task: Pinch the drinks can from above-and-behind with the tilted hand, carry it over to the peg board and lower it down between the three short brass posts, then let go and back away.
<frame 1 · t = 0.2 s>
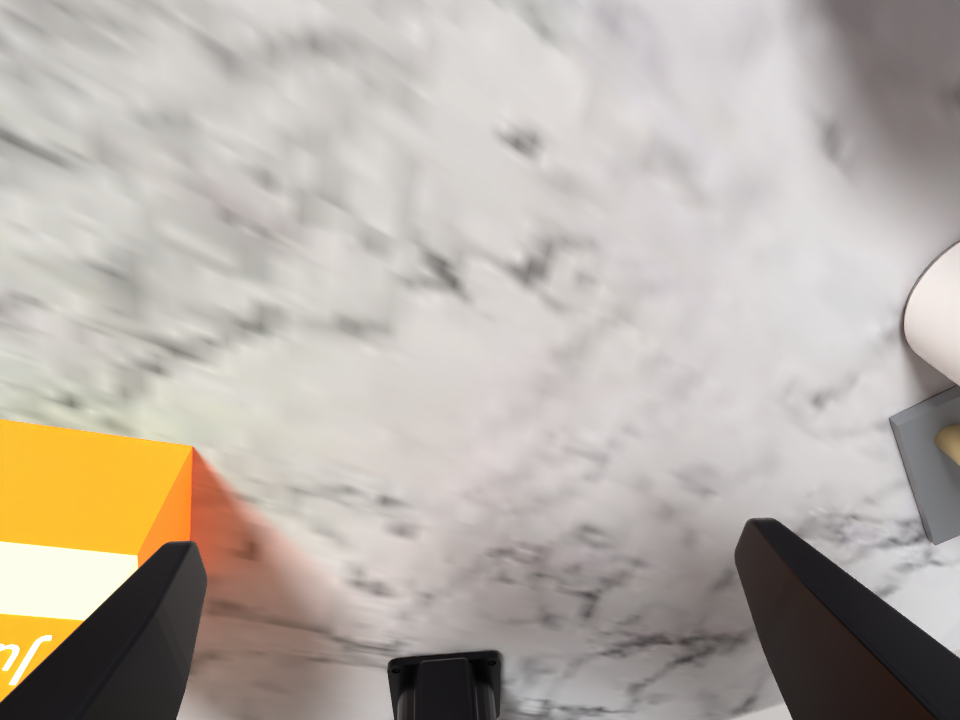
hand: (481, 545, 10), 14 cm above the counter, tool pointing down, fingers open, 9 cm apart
orange juice: (104, 504, 28), on the counter
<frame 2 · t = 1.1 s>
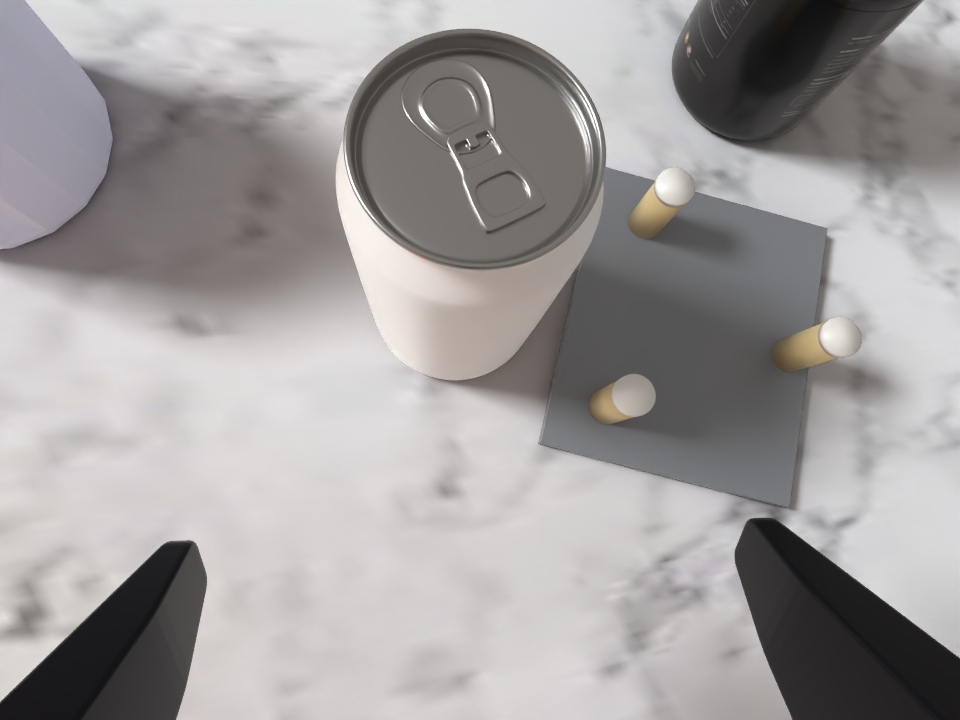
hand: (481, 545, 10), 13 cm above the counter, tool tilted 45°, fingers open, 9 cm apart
soap bottle: (2, 151, 24), on the counter
peg board: (674, 329, 25), on the counter
supplement bottle: (735, 82, 28), on the counter
can: (453, 305, 25), on the counter
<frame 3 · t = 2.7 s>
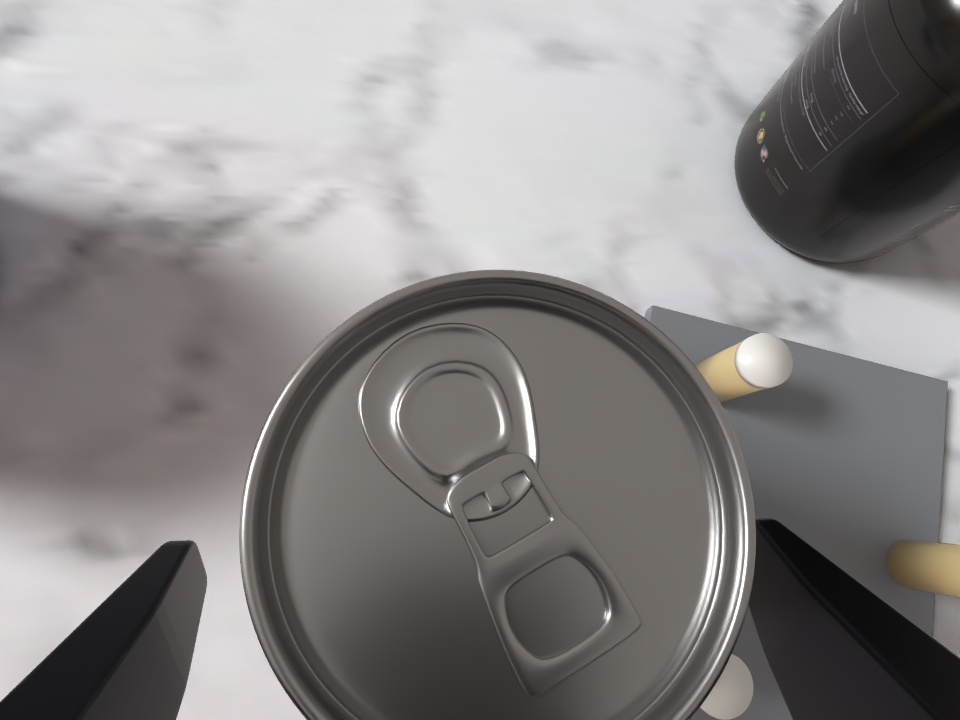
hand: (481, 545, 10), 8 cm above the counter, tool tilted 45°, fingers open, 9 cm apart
peg board: (752, 526, 19), on the counter
supplement bottle: (814, 181, 22), on the counter
can: (456, 500, 18), on the counter
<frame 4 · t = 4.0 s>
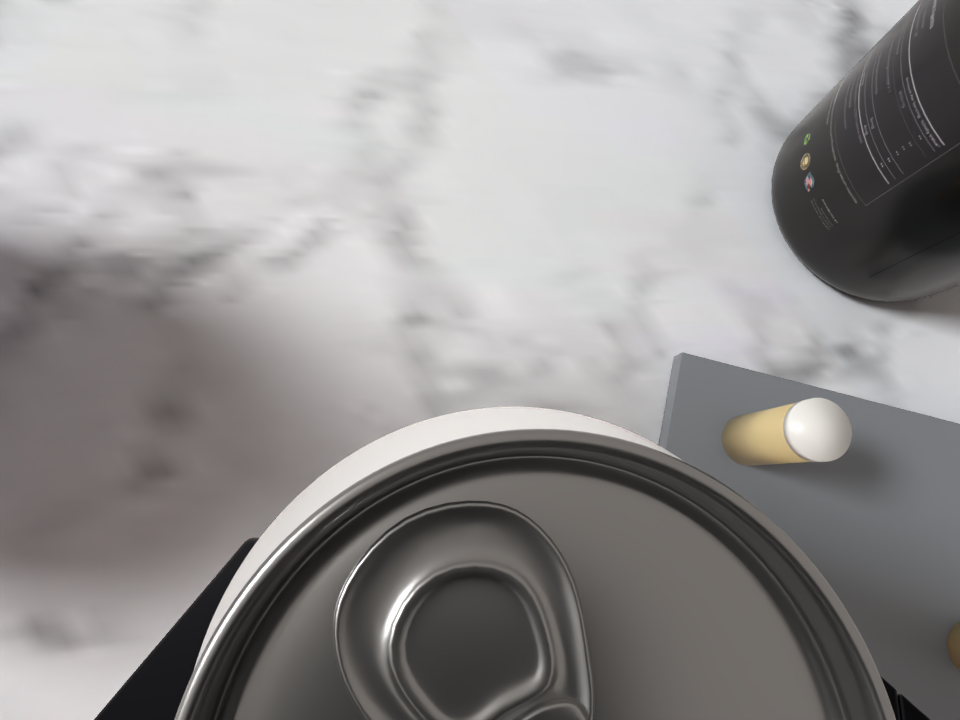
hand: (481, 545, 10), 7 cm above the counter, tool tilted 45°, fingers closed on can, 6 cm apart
peg board: (795, 603, 17), on the counter
supplement bottle: (858, 208, 20), on the counter
can: (461, 575, 16), on the counter, touching gripper
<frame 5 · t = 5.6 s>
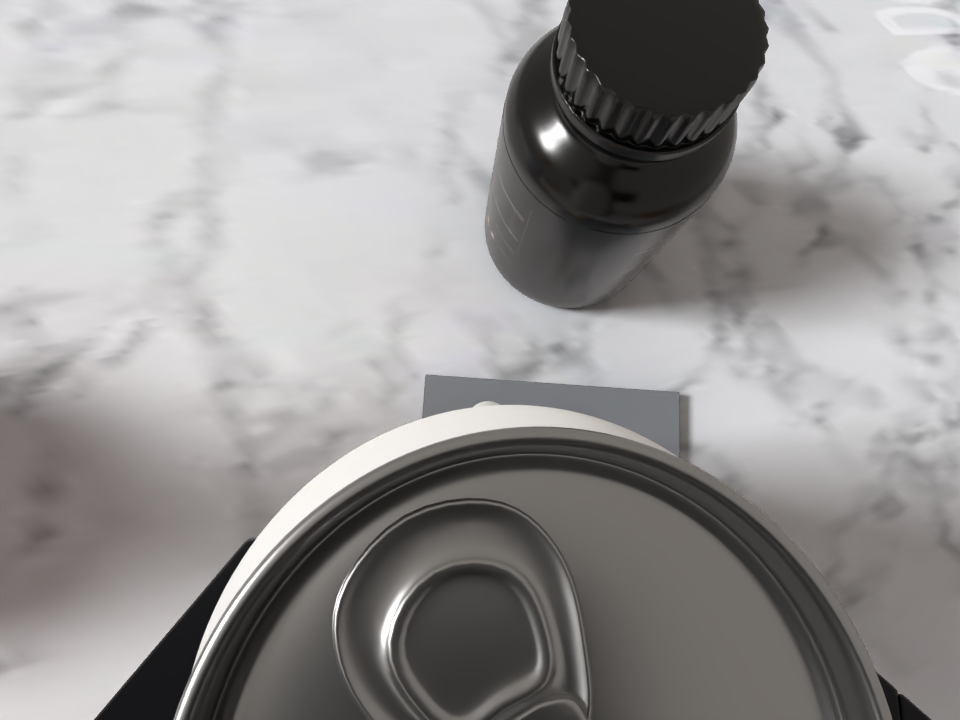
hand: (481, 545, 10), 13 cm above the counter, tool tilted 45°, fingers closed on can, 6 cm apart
peg board: (532, 541, 23), on the counter
supplement bottle: (560, 235, 26), on the counter
can: (458, 574, 16), point 6 cm above the counter, touching gripper
when the fingers open (8 cm above the counter, at t = 7.4 s): can drops 1 cm, resting on peg board.
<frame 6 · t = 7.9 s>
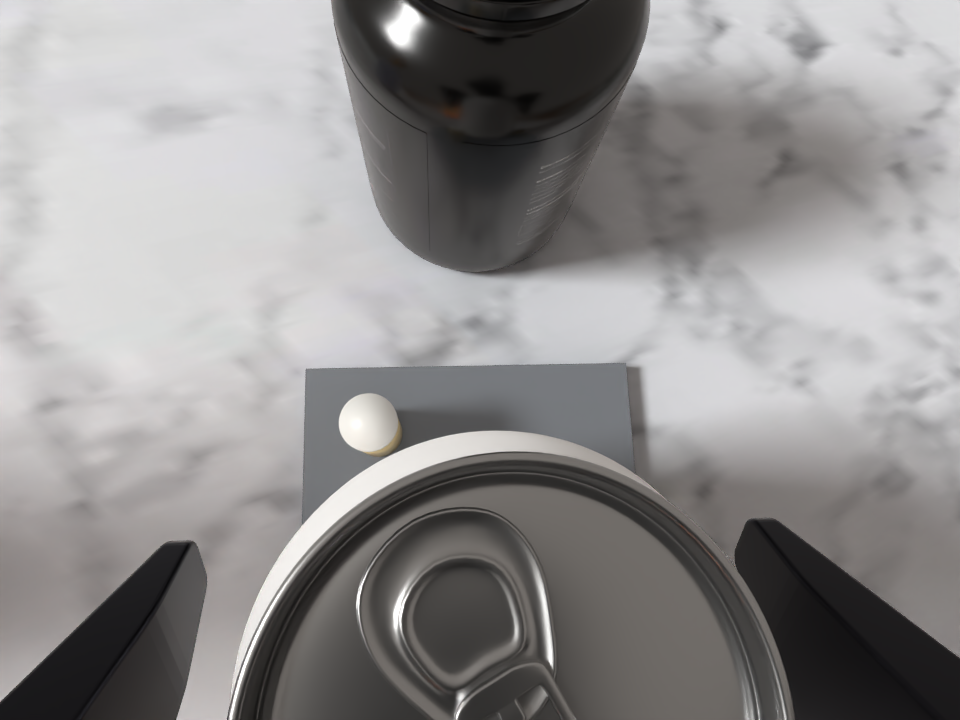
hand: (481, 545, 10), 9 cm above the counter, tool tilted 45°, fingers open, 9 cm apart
peg board: (457, 565, 18), on the counter
supplement bottle: (469, 186, 21), on the counter
can: (455, 578, 18), resting on peg board
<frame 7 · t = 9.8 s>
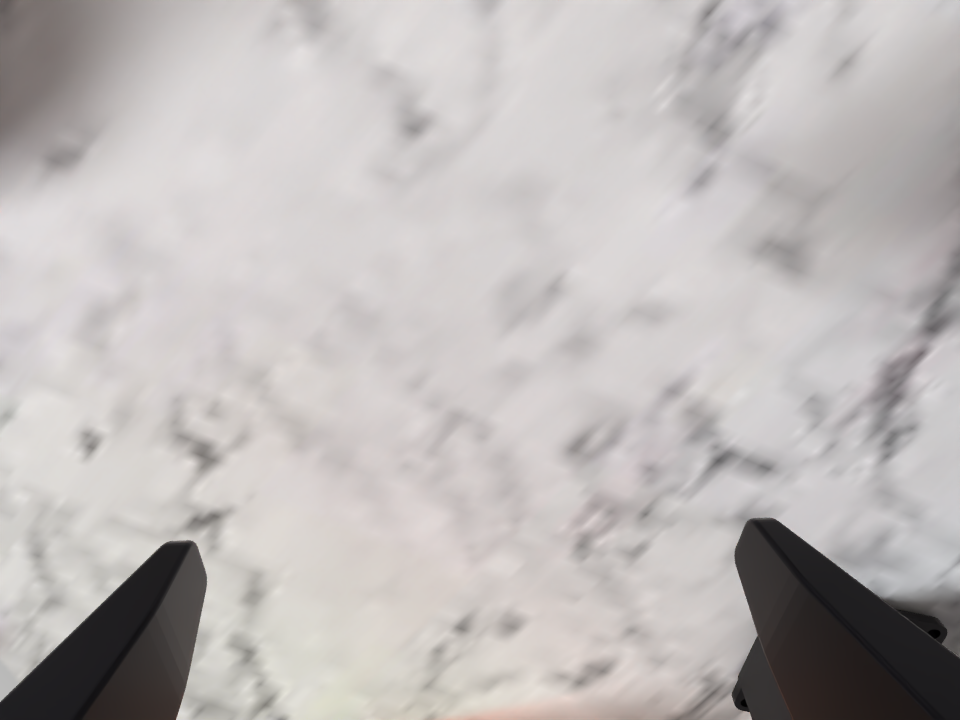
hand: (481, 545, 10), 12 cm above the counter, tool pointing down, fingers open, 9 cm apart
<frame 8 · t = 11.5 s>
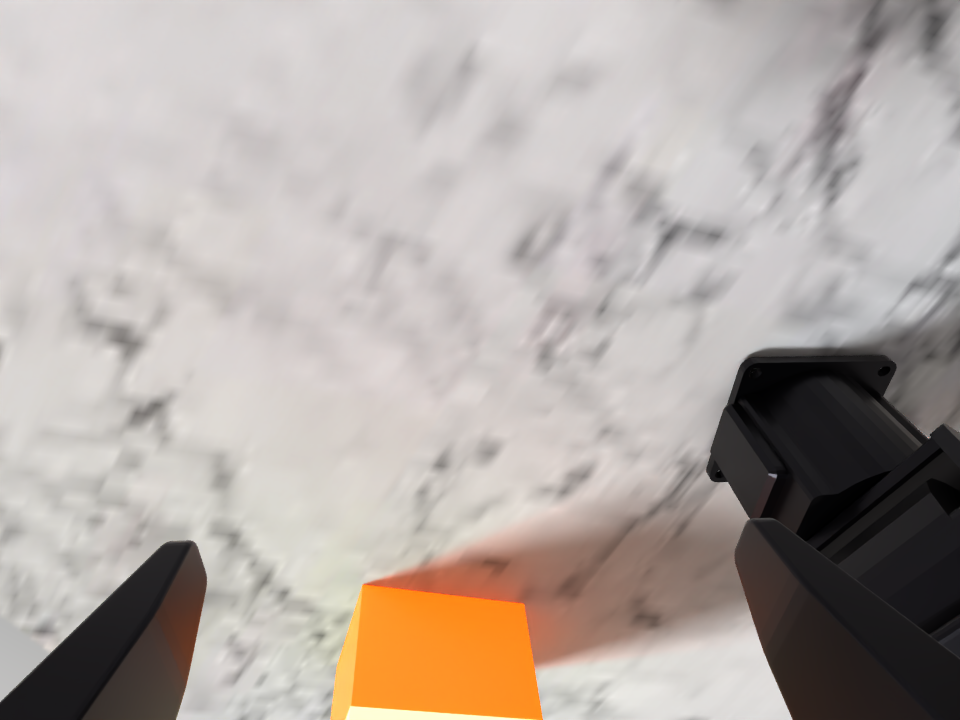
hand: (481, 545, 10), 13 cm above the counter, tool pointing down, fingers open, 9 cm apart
orange juice: (427, 633, 33), on the counter
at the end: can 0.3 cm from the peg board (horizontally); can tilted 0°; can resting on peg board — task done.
